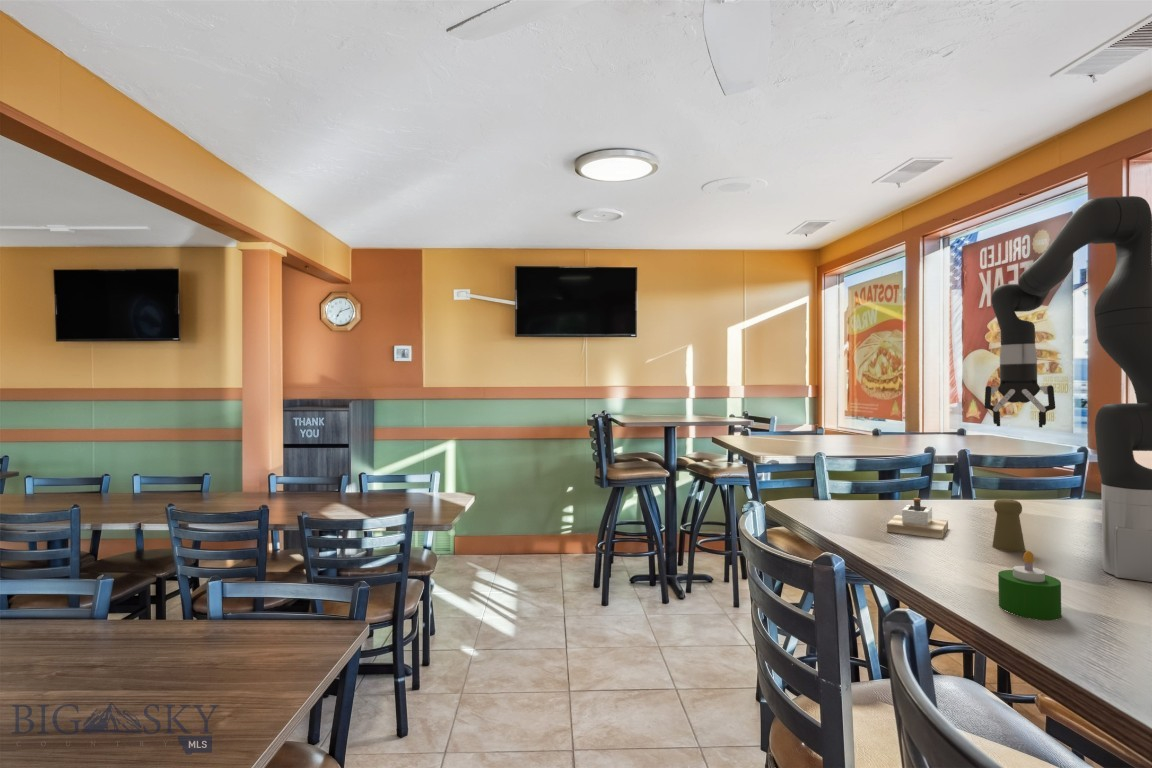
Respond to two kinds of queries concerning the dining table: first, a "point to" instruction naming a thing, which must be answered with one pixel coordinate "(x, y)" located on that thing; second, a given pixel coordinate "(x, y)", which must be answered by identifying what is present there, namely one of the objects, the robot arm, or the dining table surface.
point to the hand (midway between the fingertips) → (1019, 426)
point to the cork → (1008, 526)
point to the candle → (1029, 591)
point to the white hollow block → (917, 515)
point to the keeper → (933, 530)
